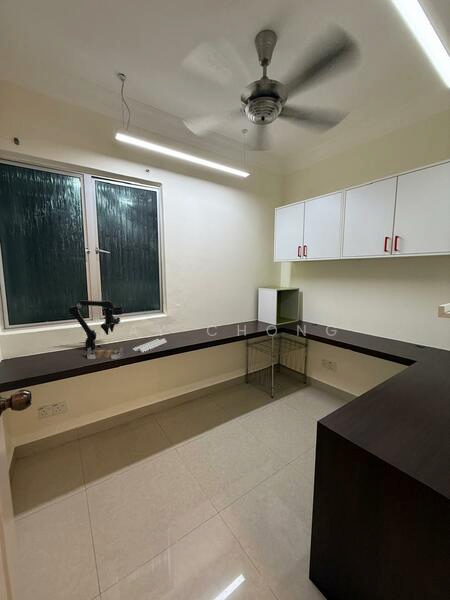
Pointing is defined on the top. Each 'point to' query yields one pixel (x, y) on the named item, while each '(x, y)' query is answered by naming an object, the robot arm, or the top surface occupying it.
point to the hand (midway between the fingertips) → (109, 333)
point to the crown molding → (149, 345)
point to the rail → (104, 353)
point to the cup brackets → (113, 356)
